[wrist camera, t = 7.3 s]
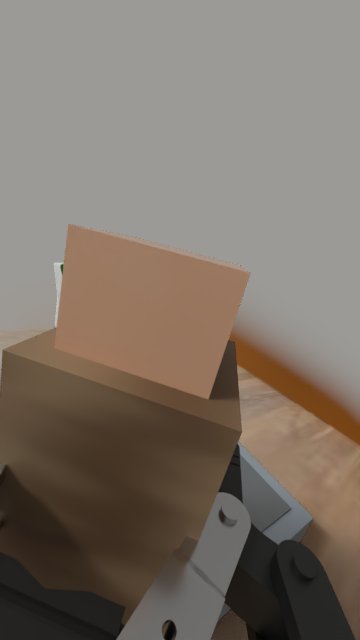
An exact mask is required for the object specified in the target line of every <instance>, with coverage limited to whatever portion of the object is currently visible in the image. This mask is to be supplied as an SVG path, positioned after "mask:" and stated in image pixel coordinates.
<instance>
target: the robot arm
mask: <svg viewBox="0 0 360 640" xmlns="http://www.w3.org/2000/svg"><path fill="white" fill-rule="evenodd" d="M240 466H241V463H240V447H239V445H238V443H237V445H236V448H235V450H234V453H233V456H232V458H231V461H230V463H229V466H228V468H227V471H226V473H225V476H224V478H223V481H222V483H221V486H220V488H219V491H218V494H217V496H216V499H215V501H214V504H213V506H212V509H211V511H210V514H209V516H208V519H207V521H206V524H205V526H204V529H203V531H202V534H201V537H200V539H199V541H198V540H195V539H193V538H190V537H188V536H186V537H185V539H184V541H183V542H182V544H181V545H180V547H179V548H178V549H177V548H176V549H175V550H174V551H173V552H172V553H171V555H170V556H169V558H168V559H167V561H166V563H165V564H164V566H163V567H162V569H161V570H160V572H159V573H158V575H157V577H156V578H155V580H154V581H153V583H152V584H151V586H150V588H149V589H148V591H147V592H146V594H145V595H144V597H143V598H142V600H141V602H140V603H139V605H138V606H137V608H136V609H135V611H134V613H133V614H132V616H131V617H130V619H129V620H128V622H127V624H126V625H125V626H124V625H123V624H122V623H121V622H122V618H123V615H124V611H125V608H126V607H124V606H122V605H119V604H117V603H115V602H112V601H110V600H108V599H106V598H103V597H101V596H99V595H97V594H94V593H92V592H90V591H77V590H60V589H47V588H45V587H43V586H42V585H41V584H40V583H39V582H38V581H37V580H36V579H35V578H34V577H33V576H32V575H31V574H30V573H29V571H28V570H27V569H26V568H25V567H24V566H23V565H22V564H21V563H20V562H19V561H18V560H17V559H15V558H13V557H10V556H8V555H6V554H4V553H1V552H0V640H210V639H211V637H212V634H213V631H214V629H215V626H216V623H217V621H218V618H219V615H220V613H221V610H222V607H223V604H224V603H225V604H226V605H227V606H228V607H230V608H231V609H232V610H233V611H234V612H235V613H236V614H237V615H238V616H239V617H240V618H242V619H243V620H244V621H245V622H246V627H247V632H248V638H249V640H355V638H354V636H353V633H352V631H351V629H350V627H349V624H348V622H347V620H346V618H345V615H344V613H343V611H342V608H341V606H340V604H339V602H338V599H337V597H336V595H335V593H334V590H333V588H332V586H331V583H330V581H329V579H328V577H327V574H326V572H325V570H324V568H323V566H322V565H321V563H320V562H319V560H318V559H317V558H316V556H315V555H314V554H313V553H312V552H311V551H310V550H309V549H308V548H307V547H305V546H304V545H302V544H301V543H299V542H297V541H294V540H284V541H282V542H281V543H280V544H279V545H278V544H277V543H275V542H274V541H273V540H271V539H270V538H268V537H267V536H266V535H264V534H263V533H262V532H261V531H259V530H258V529H257V528H256V527H255V526H254V525H253V523H252V522H251V520H250V516H249V513H248V511H247V509H246V508H245V506H244V505H243V496H242V479H241V468H240ZM5 474H6V464H5V463H2V462H0V487H1V485H2V483H3V481H4V479H5ZM2 522H3V516H1V515H0V532H1V529H2Z"/></svg>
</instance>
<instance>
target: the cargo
mask: <svg viewBox="0 0 360 640" xmlns="http://www.w3.org/2000/svg"><path fill="white" fill-rule="evenodd" d="M249 276H250V272H248V271H247V270H246V269H245V268H243V267H242V266H241V265H237V264H233V263H229V262H226V261H222V260H218V259H215V258H211V257H207V256H203V255H200V254H196V253H192V252H188V251H184V250H181V249H177V248H173V247H170V246H166V245H162V244H158V243H155V242H150V241H147V240H144V239H140V238H136V237H132V236H127V235H121V234H116V233H111V232H106V231H101V230H96V229H91V228H86V227H81V226H76V225H71V224H68V232H67V240H66V249H65V258H64V266H63V275H62V284H61V293H60V301H59V310H58V319H57V328H56V337H55V345H54V348H55V349H58V350H61V351H64V352H67V353H70V354H73V355H76V356H79V357H82V358H85V359H88V360H91V361H94V362H97V363H100V364H103V365H106V366H109V367H112V368H115V369H118V370H121V371H124V372H127V373H130V374H133V375H136V376H139V377H142V378H145V379H148V380H151V381H154V382H157V383H160V384H163V385H166V386H169V387H172V388H175V389H178V390H181V391H184V392H187V393H190V394H193V395H196V396H199V397H202V398H205V399H209V396H210V393H211V390H212V387H213V384H214V381H215V378H216V375H217V372H218V369H219V366H220V363H221V360H222V357H223V354H224V351H225V348H226V345H227V342H228V339H229V336H230V333H231V330H232V327H233V324H234V321H235V318H236V315H237V312H238V309H239V306H240V303H241V300H242V297H243V294H244V291H245V288H246V285H247V282H248V279H249Z"/></svg>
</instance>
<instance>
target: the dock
mask: <svg viewBox="0 0 360 640" xmlns="http://www.w3.org/2000/svg"><path fill="white" fill-rule="evenodd" d="M238 445H239V447H240V463H241V466H240V468H241V479H242V496H243V505H244V506H245V508H246V509H247V511H248V513H249V516H250V520H251V522H252V523H253V525H254V526H255V527H256V528H257V529H258V530H259V531H261V532H262V533H263V534H264V535H266V536H267V537H268V538H270V539H271V540H273V541H274V542H275V543H277V544H278V545H279V544H280V543H281V542H282V541H284V540H294V541H297V542H300V541H301V540H302V538H303V537H304V535H305V533H306V531H307V529H308V527H309V525H310V524H311V522H312V520H313V517H312V516H311V515H310V514H309V513H308V512H307V511H306V510H305V509H304V508H303V507H302V506H301V505H300V504H299V503H298V502H297V501H296V500H295V499H294V497H293V496H292V495H291V494H290V493H289V492H288V491H287V490H286V489H285V488H284V487H283V486H282V485H281V484H280V483H279V482H278V481H277V480H276V479H275V478H274V477H273V476H272V475H271V474H270V473H269V472H268V471H267V470H266V469H265V468H264V467H263V466H262V465H261V464H260V463H259V462H258V461H257V460H256V459H255V458H254V457H253V456H252V455H251V454H250V453H249V452H248V451H247V450H246V449H245V448H244V447H243V446H242V445H241V444H240V443H239V442H238ZM230 609H231V608H230V607H228V606H227V605H226V604H225V603H224V604H223V607H222V610H221V613H220V615H219V618H218V621H219V620H220V619H221V618H222V617H223V616H224V615H225V614H226V613H227V612H228V611H229V610H230ZM218 621H217V622H218Z"/></svg>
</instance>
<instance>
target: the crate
mask: <svg viewBox="0 0 360 640" xmlns="http://www.w3.org/2000/svg"><path fill="white" fill-rule="evenodd" d="M56 328H57V327H56ZM56 328H54V329H52V330H49V331H47V332H44V333H42V334H40V335H37V336H35V337H32V338H30V339H28V340H25V341H23V342H21V343H18V344H16V345H13V346H11V347H9V348H6V349H4V350H3V353H2V374H1V395H0V462H2V463H5V464H6V474H5V479H4V481H3V483H2V485H1V487H0V515H1V516H3V522H2V529H1V532H0V552H1V553H4V554H6V555H8V556H10V557H13V558H15V559H17V560H18V561H19V562H20V563H21V564H22V565H23V566H24V567H25V568H26V569H27V570H28V571H29V573H30V574H31V575H32V576H33V577H34V578H35V579H36V580H37V581H38V582H39V583H40V584H41V585H42V586H43V587H45V588H47V589H60V590H77V591H90V592H92V593H94V594H97V595H99V596H101V597H103V598H106V599H108V600H110V601H112V602H115V603H117V604H119V605H122V606H124V607H126V608H125V611H124V615H123V618H122V622H121V623H122V624H123V625H124V626H125V625H126V624H127V622H128V620H129V619H130V617H131V616H132V614H133V613H134V611H135V609H136V608H137V606H138V605H139V603H140V602H141V600H142V598H143V597H144V595H145V594H146V592H147V591H148V589H149V588H150V586H151V584H152V583H153V581H154V580H155V578H156V577H157V575H158V573H159V572H160V570H161V569H162V567H163V566H164V564H165V563H166V561H167V559H168V558H169V556H170V555H171V553H172V552H173V551H174V550H175V549H176V548H177V549H178V548H179V547H180V545H181V544H182V542H183V541H184V539H185V537H186V536H188V537H190V538H193V539H195V540H198V541H199V539H200V537H201V534H202V531H203V529H204V526H205V524H206V521H207V519H208V516H209V514H210V511H211V509H212V506H213V504H214V501H215V499H216V496H217V494H218V491H219V488H220V486H221V483H222V481H223V478H224V476H225V473H226V471H227V468H228V466H229V463H230V461H231V458H232V456H233V453H234V450H235V448H236V445H237V443H238V440H239V438H240V435H241V433H242V428H241V414H240V401H239V388H238V375H237V362H236V348H235V342H233V341H230V340H228V342H227V345H226V348H225V351H224V354H223V357H222V360H221V363H220V366H219V369H218V372H217V375H216V378H215V381H214V384H213V387H212V390H211V393H210V396H209V399H205V398H202V397H199V396H196V395H193V394H190V393H187V392H184V391H181V390H178V389H175V388H172V387H169V386H166V385H163V384H160V383H157V382H154V381H151V380H148V379H145V378H142V377H139V376H136V375H133V374H130V373H127V372H124V371H121V370H118V369H115V368H112V367H109V366H106V365H103V364H100V363H97V362H94V361H91V360H88V359H85V358H82V357H79V356H76V355H73V354H70V353H67V352H64V351H61V350H58V349H55V348H54V345H55V337H56Z"/></svg>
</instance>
